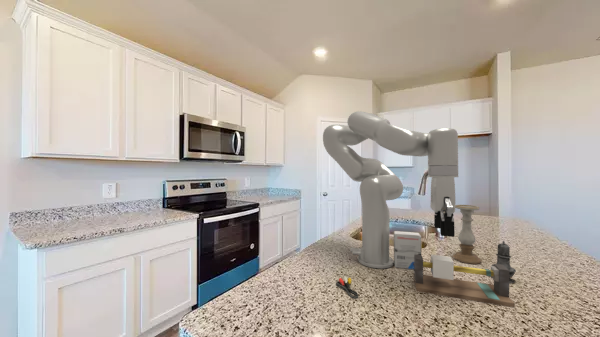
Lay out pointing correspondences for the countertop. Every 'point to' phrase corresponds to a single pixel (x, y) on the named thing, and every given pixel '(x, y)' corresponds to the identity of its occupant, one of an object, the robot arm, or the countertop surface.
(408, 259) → the ink box
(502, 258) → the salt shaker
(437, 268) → the sleeve
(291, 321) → the countertop surface
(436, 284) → the cord board
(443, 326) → the countertop surface
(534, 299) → the countertop surface
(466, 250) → the candle holder
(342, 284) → the composite cable
